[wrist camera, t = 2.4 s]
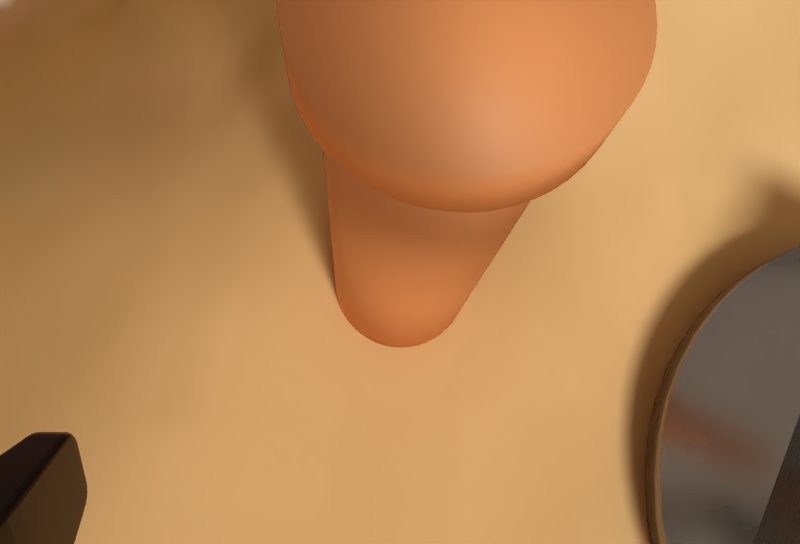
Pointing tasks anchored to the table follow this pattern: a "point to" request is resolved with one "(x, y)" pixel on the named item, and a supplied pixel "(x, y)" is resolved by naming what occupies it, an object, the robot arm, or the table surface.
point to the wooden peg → (450, 132)
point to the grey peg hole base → (732, 419)
